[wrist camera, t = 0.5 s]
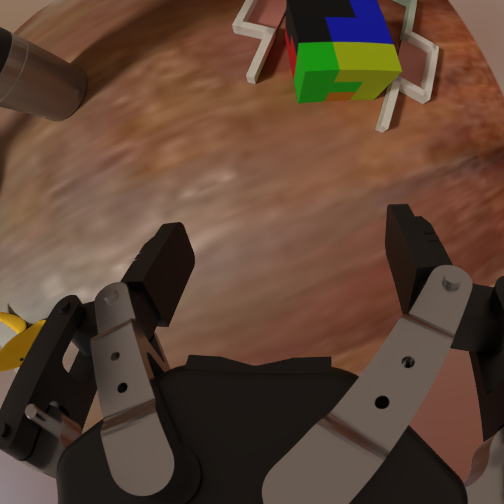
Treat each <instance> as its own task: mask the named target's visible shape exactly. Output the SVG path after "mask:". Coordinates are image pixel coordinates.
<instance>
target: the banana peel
mask: <svg viewBox="0 0 504 504" xmlns="http://www.w3.org/2000/svg"><path fill="white" fill-rule="evenodd" d="M0 321H1V322H3V323H5V324H6V325H8V326H9V327H10V328H12V329H13V330H14V331H15V332H16V333H17V334H18V335H16V336H15V337H13V338H12V339H11V340H10V341H9V342H8V343H7V344H6V345H5V346H4V347H3V348H2V349H1V350H0V371H7V370H11V369H15V368H17V367H20V366H21V364H22V362H23V361H24V359H25V357H26V355H27V353H28V351H29V349H30V347H31V346H32V344H33V342H34V340H35V338H36V337H37V335H38V333H39V331H40V330H41V328H42V326H43V325H44V323H45V321H46V320H40V321H38V322H36V323H35V324H34V325H32V326H31V327H29V328H28V329H26V326H27V325H26V322H25V320H23V319H22V318H21V317H19V316H16V315H13V314H9V313H4V312H0Z"/></svg>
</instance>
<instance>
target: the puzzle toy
mask: <svg viewBox="0 0 504 504" xmlns="http://www.w3.org/2000/svg"><path fill="white" fill-rule="evenodd" d="M285 41H286V45H287V50H288V54H289V59H290V64H291V68H292V73H293V78H294V83H295V89H296V94H297V99H298V103H308V102H322V101H341V100H374V99H375V98H376V97H377V96H378V95H379V94H380V93H381V92H382V91H383V90H384V89H385V88H386V87H387V86H388V85H389V84H390V83H391V82H392V81H393V80H394V79H395V78H396V77H397V76H398V75H399V74H400V73H401V72H402V69H401V66H400V62H399V59H398V56H397V53H396V50H395V47H394V44H393V41H392V38H391V35H390V33H389V30H388V27H387V25H386V22H385V19H384V17H383V14H382V12H381V10H380V7H379V5H378V2H377V0H286V27H285Z"/></svg>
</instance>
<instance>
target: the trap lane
mask: <svg viewBox="0 0 504 504" xmlns="http://www.w3.org/2000/svg"><path fill="white" fill-rule="evenodd" d="M393 1H395V2H397V3H399V4H401V5H403V6H405V7H406V11H405V16H404V21H403V25H402V30H401V35H400V40H401V44H400V48H399V52H398V59H399V62H400V66H401V69H402V72H401V73H400V74H399V75H398V76H397V77H396V78H395V79H394V80H393V81H392V82H391V83H390V84H389V85H388V87H387V91H386V94H385V98H384V102H383V105H382V109H381V112H380V115H379V119H378V122H377V125H376V129H375V130H377V131H380V132H382V133H383V132H384V131H386V130H387V129H388V128H389V124H390V121H391V117H392V114H393V110H394V106H395V103H396V99H397V95H398V91H400V92H401V93H403V94H405V95H407V96H409V97H411V98H413V99H414V100H416V101H418V102H420V103H422V104H424V103H425V102H427V101H429V100H430V97H431V92H432V86H433V81H434V76H435V70H436V64H437V57H438V50H439V47H438V46H437V45H435V44H433V43H432V42H430V41H428V40H426V39H425V38H423V37H421V36H419V35H417V34H416V33H414V32H412V28H413V23H414V17H415V11H416V5H417V0H393ZM285 11H286V0H246V1H245V2H244V4H243V6H242V8H241V10H240V12H239V13H238V15H237V17H236V19H235V21H234V23H233V25H232V26H233V30H234V33H236V34H241V35H245V36H250V37H254V38H258V39H262V41H261V44H260V46H259V48H258V50H257V52H256V55H255V57H254V59H253V61H252V63H251V66H250V68H249V70H248V73H247V75H246V77H247V81H248V82H249V83H253V84H256V82H257V79H258V77H259V75H260V72H261V70H262V67H263V65H264V63H265V61H266V58H267V56H268V54H269V51H270V49H271V47H272V45H273V42H274V40H275V38H276V30H277V28H278V26H279V24H280V22H281V20H282V18H283V15H284V13H285Z"/></svg>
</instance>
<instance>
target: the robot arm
mask: <svg viewBox="0 0 504 504" xmlns="http://www.w3.org/2000/svg"><path fill="white" fill-rule="evenodd" d="M86 86H87V80H86V76H85V74H84V72H83V71H82V70H80V69H78V68H77V67H75V66H73V65H72V64H70V63H68V62H66V61H65V60H63V59H61V58H59V57H57V56H56V55H54V54H52V53H50V52H48V51H46V50H45V49H43V48H41V47H39V46H37V45H35V44H33V43H31V42H29V41H28V40H26V39H23V38H21V37H19V36H17V35H15V34H13V33H11V32H9V31H7V30H5V29H3V28H1V27H0V107H3V108H7V109H11V110H15V111H19V112H23V113H27V114H30V115H34V116H38V117H41V118H45V119H48V120H52V121H62V120H64V119H66V118H68V117H69V116H70V115H71V114H72V113H74V112H75V110H76V109H77V108H78V106H79V105H80V103H81V102H82V100H83V97H84V95H85V91H86ZM385 249H386V255H387V259H388V262H389V265H390V269H391V272H392V276H393V279H394V283H395V286H396V290H397V294H398V297H399V301H400V305H401V309H402V313H403V315H402V316H401V318H400V319H399V321H398V322H397V324H396V325H395V327H394V328H393V330H392V331H391V333H390V334H389V336H388V337H387V339H386V340H385V342H384V343H383V345H382V346H381V348H380V349H379V351H378V352H377V353H376V355H375V356H374V358H373V359H372V360H371V362H370V363H369V364H368V366H367V367H366V369H365V370H364V371H363V373H362V374H361V375H360V376H357V375H355V374H353V373H351V372H348V371H346V370H342V369H339V368H334V367H331V357H307V358H291V359H287V360H282V361H278V362H273V363H268V364H263V365H258V366H253V365H249V364H245V363H241V362H238V361H234V360H230V359H227V358H224V357H217V356H200V355H189V356H188V359H187V362H186V365H183V366H179V367H175V368H173V369H170V366H169V364H168V362H167V359H166V357H165V354H164V352H163V349H162V346H161V344H160V341H159V338H158V336H157V334H156V333H155V329H156V327H157V326H159V327H169V324H170V322H171V319H172V317H173V315H174V312H175V310H176V307H177V305H178V303H179V300H180V298H181V296H182V293H183V291H184V289H185V286H186V284H187V282H188V279H189V277H190V275H191V272H192V270H193V268H194V264H195V256H194V252H193V249H192V246H191V244H190V241H189V238H188V236H187V233H186V230H185V228H184V225H183V224H182V223H181V222H176V223H167V224H163V225H162V226H161V227H160V229H159V230H158V232H157V233H156V235H155V236H154V237H153V238H151V239H150V240H149V241H148V242H147V243H146V244H144V246H143V247H142V249H141V250H140V252H139V254H138V255H137V256H136V258H135V261H133V263H132V264H131V266H130V267H129V269H128V270H127V272H126V273H125V275H124V277H123V278H122V280H121V281H120V282H116V283H112V284H110V285H108V286H106V287H105V288H103V289H102V290H101V291H100V292H99V293H98V294H97V296H96V298H95V301H93V302H89V303H85V304H82V302H81V301H80V300H79V298H78V297H77V296H76V295H69V296H66V297H64V298H63V299H61V300H60V301H59V302H58V303H57V304H56V305H55V307H54V308H53V310H52V311H51V313H50V315H49V316H48V318H47V320H46V321H45V323H44V325H43V326H42V328H41V330H40V331H39V333H38V335H37V337H36V338H35V340H34V342H33V344H32V346H31V347H30V349H29V351H28V353H27V355H26V357H25V359H24V361H23V362H22V364H21V366H20V368H19V370H18V372H17V374H16V377H15V379H14V380H13V383H12V385H11V387H10V389H9V391H8V393H7V396H6V398H5V400H4V402H3V404H2V407H1V409H0V450H2V451H4V452H6V453H7V454H9V455H10V456H12V457H14V458H15V459H16V460H17V461H19V462H21V463H23V464H25V465H27V466H28V467H30V468H32V469H34V470H36V471H39V472H42V473H45V474H47V475H49V476H51V477H53V478H56V480H57V489H58V504H504V276H502V277H500V278H499V279H498V280H497V281H496V284H495V286H494V287H488V286H482V285H477V284H473V283H472V280H471V278H470V276H469V275H468V274H467V273H466V272H465V271H464V270H462V269H461V268H458V267H456V266H453V264H452V262H451V260H450V258H449V257H448V255H447V253H446V251H445V249H444V247H443V245H442V243H441V242H440V240H439V238H438V236H437V234H436V232H435V231H434V229H433V227H432V225H431V224H430V223H429V222H428V221H427V220H425V219H424V218H423V217H421V216H416V217H415V216H414V214H413V212H412V211H411V209H410V207H409V205H408V204H390V205H388V207H387V219H386V235H385ZM71 341H72V342H73V343H74V344H75V345H76V347H77V348H78V349H79V352H78V354H77V356H76V358H75V361H74V363H73V365H72V367H71V369H70V371H69V373H68V372H67V371H66V370H65V369H64V367H63V363H62V359H63V356H64V354H65V352H66V350H67V348H68V346H69V344H70V342H71ZM450 348H452V349H459V350H465V351H469V354H470V358H471V363H472V368H473V372H474V377H475V382H476V388H477V394H478V400H479V407H480V414H481V421H482V431H483V443H482V444H481V445H480V446H479V447H478V448H477V449H476V451H475V453H474V456H473V458H472V463H471V470H470V474H469V476H468V478H467V480H466V481H465V483H463V482H462V480H461V479H460V477H459V476H458V475H457V474H456V473H455V472H454V471H453V470H452V469H451V468H450V467H449V466H448V465H447V464H446V463H445V462H444V461H443V460H442V459H441V458H440V456H439V455H438V454H436V452H435V451H434V450H433V449H432V448H431V447H430V446H429V445H428V444H427V443H426V442H425V441H424V440H423V439H422V438H421V437H420V436H419V435H418V434H417V433H416V432H415V431H414V430H413V429H412V428H411V427H410V426H409V423H410V421H411V420H412V418H413V417H414V415H415V413H416V412H417V410H418V408H419V407H420V405H421V403H422V401H423V400H424V398H425V396H426V394H427V392H428V391H429V389H430V387H431V385H432V383H433V381H434V379H435V378H436V376H437V373H438V372H439V370H440V368H441V366H442V363H443V361H444V359H445V357H446V355H447V353H448V351H449V349H450ZM97 390H98V396H99V401H100V406H101V410H102V415H103V419H102V420H101V421H99V422H98V423H97V424H95V425H94V426H93V427H91V428H90V429H89V430H88V431H86V432H85V433H84V434H82V430H83V427H84V424H85V421H86V418H87V415H88V413H89V410H90V407H91V404H92V402H93V399H94V396H95V394H96V391H97Z"/></svg>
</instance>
